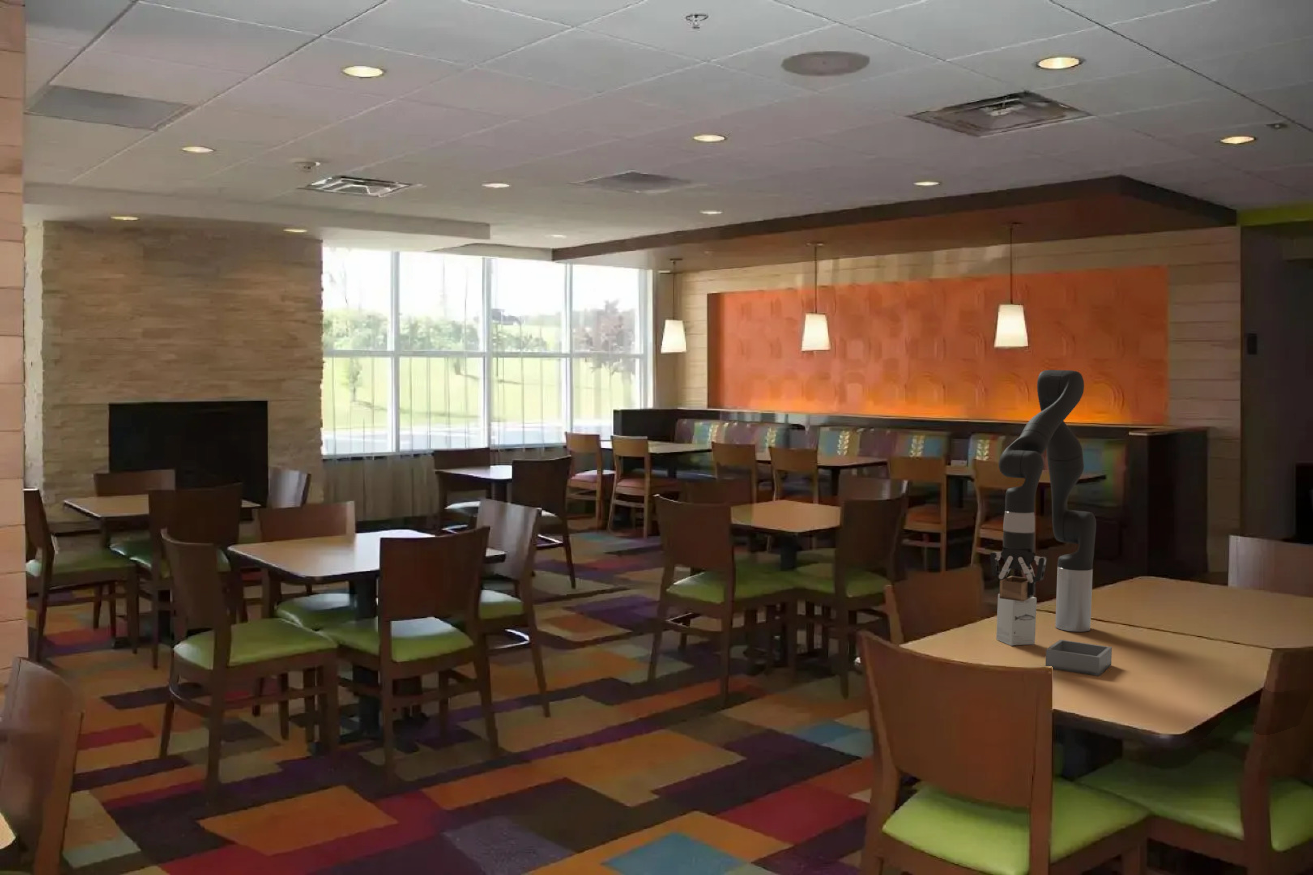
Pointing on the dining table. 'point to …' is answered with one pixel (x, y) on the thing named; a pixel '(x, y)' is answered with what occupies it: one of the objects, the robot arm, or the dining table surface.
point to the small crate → (1014, 588)
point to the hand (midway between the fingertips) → (1016, 595)
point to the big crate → (1079, 657)
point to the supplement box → (1016, 621)
